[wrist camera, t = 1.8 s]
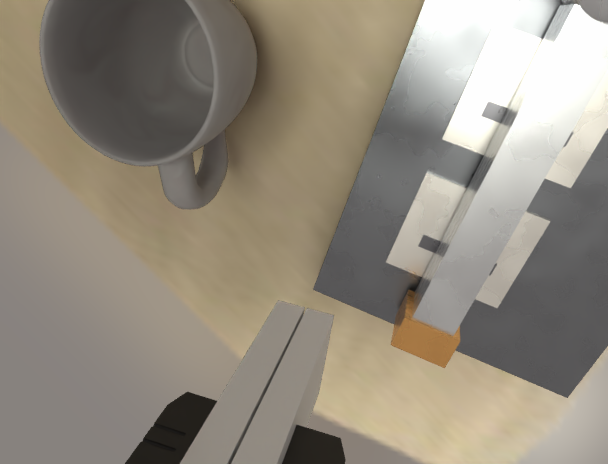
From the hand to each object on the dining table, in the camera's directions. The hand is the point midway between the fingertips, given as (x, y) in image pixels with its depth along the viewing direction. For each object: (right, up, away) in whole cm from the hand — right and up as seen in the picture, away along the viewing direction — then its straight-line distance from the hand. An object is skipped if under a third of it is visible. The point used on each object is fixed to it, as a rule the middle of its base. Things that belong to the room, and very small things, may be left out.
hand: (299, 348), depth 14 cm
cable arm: (+11, +7, +12) cm, 17 cm away
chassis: (+12, +6, +14) cm, 20 cm away
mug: (-5, +13, +17) cm, 22 cm away
